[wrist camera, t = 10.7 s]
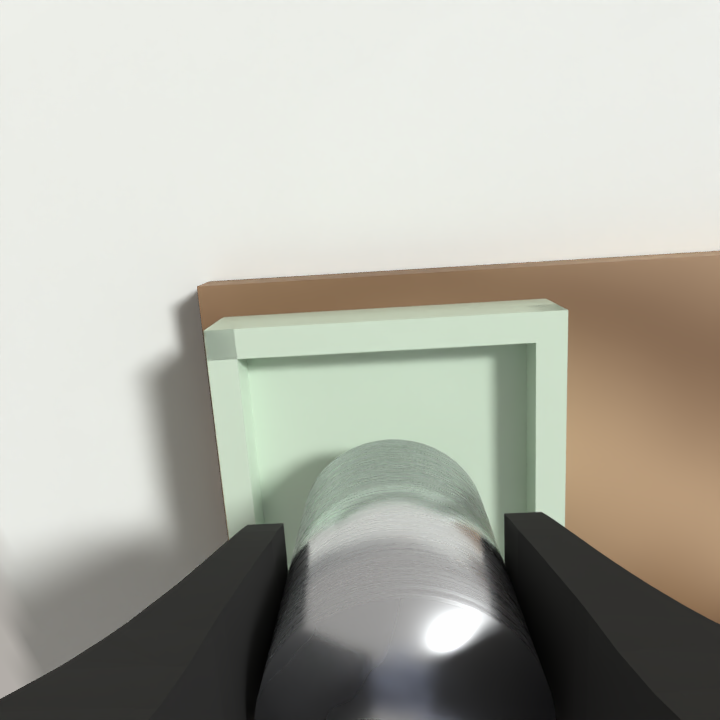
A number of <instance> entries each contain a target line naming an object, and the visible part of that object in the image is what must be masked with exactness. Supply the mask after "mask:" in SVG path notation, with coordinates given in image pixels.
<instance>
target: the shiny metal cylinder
mask: <svg viewBox="0 0 720 720" xmlns="http://www.w3.org/2000/svg"><path fill="white" fill-rule="evenodd" d="M254 720H556V716H555V707H554V703H553V699H552V695H551V691H550V688H549V686H548V683H547V680H546V677H545V674H544V672H543V669H542V666H541V663H540V661H539V658H538V655H537V652H536V650H535V647H534V644H533V641H532V638H531V636H530V633H529V630H528V627H527V625H526V622H525V619H524V616H523V614H522V611H521V608H520V605H519V602H518V600H517V597H516V594H515V591H514V589H513V586H512V583H511V580H510V578H509V575H508V572H507V569H506V566H505V564H504V561H503V558H502V555H501V553H500V550H499V547H498V544H497V542H496V539H495V536H494V533H493V530H492V528H491V525H490V522H489V519H488V517H487V514H486V511H485V508H484V506H483V503H482V500H481V497H480V495H479V492H478V490H477V488H476V486H475V484H474V483H473V481H472V479H471V478H470V476H469V475H468V474H467V473H466V471H465V470H464V469H463V468H462V467H461V466H460V465H459V464H458V463H457V462H456V461H454V460H453V459H452V458H450V457H449V456H448V455H446V454H444V453H443V452H441V451H439V450H437V449H435V448H433V447H430V446H428V445H425V444H422V443H418V442H414V441H408V440H398V439H388V440H379V441H373V442H369V443H365V444H362V445H360V446H357V447H354V448H352V449H350V450H348V451H347V452H345V453H343V454H341V455H340V456H339V457H337V458H336V459H334V460H333V461H332V462H331V463H330V464H329V465H328V466H327V467H326V468H324V470H323V471H322V472H321V473H320V475H319V476H318V477H317V479H316V480H315V482H314V484H313V485H312V487H311V489H310V492H309V494H308V496H307V499H306V503H305V507H304V511H303V515H302V519H301V523H300V527H299V531H298V535H297V539H296V544H295V548H294V552H293V556H292V560H291V564H290V568H289V572H288V576H287V580H286V584H285V588H284V592H283V596H282V600H281V604H280V608H279V612H278V617H277V621H276V625H275V629H274V633H273V637H272V641H271V645H270V649H269V653H268V657H267V661H266V665H265V669H264V673H263V677H262V681H261V685H260V690H259V694H258V698H257V702H256V708H255V718H254Z"/></svg>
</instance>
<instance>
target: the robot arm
mask: <svg viewBox="0 0 720 720" xmlns="http://www.w3.org/2000/svg"><path fill="white" fill-rule="evenodd" d="M504 558H505V566H506V569H507V572H508V575H509V578H510V580H511V583H512V586H513V589H514V591H515V594H516V597H517V600H518V602H519V605H520V608H521V611H522V614H523V616H524V619H525V622H526V625H527V627H528V630H529V633H530V636H531V638H532V641H533V644H534V647H535V650H536V652H537V655H538V658H539V661H540V663H541V666H542V669H543V672H544V674H545V677H546V680H547V683H548V686H549V688H550V691H551V695H552V699H553V703H554V707H555V716H556V720H720V624H718V623H716V622H714V621H712V620H710V619H708V618H706V617H705V616H703V615H701V614H699V613H697V612H695V611H694V610H692V609H690V608H688V607H686V606H685V605H683V604H681V603H679V602H678V601H676V600H674V599H673V598H671V597H669V596H668V595H666V594H664V593H663V592H661V591H659V590H658V589H656V588H654V587H653V586H651V585H649V584H648V583H646V582H644V581H643V580H641V579H640V578H638V577H637V576H635V575H633V574H632V573H630V572H629V571H627V570H626V569H624V568H623V567H621V566H620V565H618V564H617V563H615V562H614V561H612V560H611V559H609V558H608V557H606V556H605V555H603V554H602V553H601V552H599V551H598V550H596V549H595V548H593V547H592V546H591V545H589V544H588V543H586V542H585V541H583V540H582V539H581V538H579V537H578V536H576V535H575V534H574V533H572V532H571V531H569V530H568V529H567V528H565V527H564V526H562V525H561V524H560V523H558V522H557V521H555V520H554V519H552V518H551V517H549V516H548V515H546V514H544V513H543V512H527V513H504ZM287 576H288V563H287V553H286V543H285V534H284V524H283V523H275V524H252V525H246V526H245V527H244V528H242V529H241V530H240V531H239V532H237V533H236V534H235V535H234V536H233V537H232V538H230V539H229V540H228V541H227V542H226V543H225V544H224V545H222V546H221V547H220V548H219V549H218V550H217V551H216V552H214V553H213V554H212V555H211V556H210V557H209V558H208V559H206V560H205V561H204V562H203V563H202V564H201V565H199V566H198V567H197V568H196V569H195V570H194V571H192V572H191V573H190V574H189V575H188V576H187V577H185V578H184V579H183V580H182V581H181V582H179V583H178V584H177V585H176V586H174V587H173V588H172V589H171V590H169V591H168V592H167V593H165V594H164V595H163V596H162V597H160V598H159V599H158V600H156V601H155V602H154V603H152V604H151V605H150V606H149V607H147V608H146V609H145V610H143V611H142V612H141V613H139V614H138V615H137V616H136V617H134V618H133V619H132V620H130V621H129V622H128V623H126V624H125V625H123V626H122V627H120V628H119V629H118V630H116V631H115V632H113V633H112V634H110V635H109V636H107V637H106V638H104V639H103V640H101V641H100V642H98V643H97V644H95V645H94V646H92V647H90V648H89V649H87V650H86V651H84V652H82V653H81V654H79V655H78V656H76V657H75V658H73V659H71V660H70V661H68V662H67V663H65V664H63V665H62V666H60V667H58V668H56V669H55V670H53V671H51V672H49V673H47V674H46V675H44V676H42V677H40V678H38V679H36V680H35V681H33V682H31V683H29V684H27V685H25V686H24V687H22V688H20V689H18V690H16V691H14V692H12V693H11V694H9V695H7V696H5V697H3V698H1V699H0V720H254V718H255V708H256V702H257V698H258V694H259V690H260V685H261V681H262V677H263V673H264V669H265V665H266V661H267V657H268V653H269V649H270V645H271V641H272V637H273V633H274V629H275V625H276V621H277V617H278V612H279V608H280V604H281V600H282V596H283V592H284V588H285V584H286V580H287Z"/></svg>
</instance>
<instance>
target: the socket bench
mask: <svg viewBox="0 0 720 720" xmlns="http://www.w3.org/2000/svg"><path fill="white" fill-rule="evenodd" d="M197 291H198V299H199V307H200V315H201V323H202V331H204V330H205V329H207V328H208V327H210V326H211V325H213V324H214V323H216V322H217V321H218V320H220V319H221V318H223V317H235V316H252V315H269V314H287V313H304V312H321V311H339V310H356V309H373V308H391V307H408V306H425V305H443V304H460V303H477V302H495V301H512V300H529V299H548V300H550V301H552V302H554V303H556V304H557V305H559V306H561V307H563V308H565V309H567V310H568V358H567V421H566V484H565V528H567V529H568V530H569V531H571V532H572V533H574V534H575V535H576V536H578V537H579V538H581V539H582V540H583V541H585V542H586V543H588V544H589V545H591V546H592V547H593V548H595V549H596V550H598V551H599V552H601V553H602V554H603V555H605V556H606V557H608V558H609V559H611V560H612V561H614V562H615V563H617V564H618V565H620V566H621V567H623V568H624V569H626V570H627V571H629V572H630V573H632V574H633V575H635V576H637V577H638V578H640V579H641V580H643V581H644V582H646V583H648V584H649V585H651V586H653V587H654V588H656V589H658V590H659V591H661V592H663V593H664V594H666V595H668V596H669V597H671V598H673V599H674V600H676V601H678V602H679V603H681V604H683V605H685V606H686V607H688V608H690V609H692V610H694V611H695V612H697V613H699V614H701V615H703V616H705V617H706V618H708V619H710V620H712V621H714V622H716V623H718V624H720V251H709V252H692V253H676V254H659V255H642V256H626V257H609V258H593V259H576V260H559V261H543V262H526V263H509V264H493V265H476V266H460V267H443V268H426V269H410V270H393V271H377V272H360V273H343V274H327V275H310V276H294V277H277V278H260V279H244V280H227V281H210V282H207V283H205V284H202V285H200V286H197ZM203 340H204V332H203ZM204 348H205V341H204ZM205 356H206V349H205ZM206 364H207V357H206ZM207 372H208V365H207ZM208 380H209V373H208ZM209 388H210V381H209ZM210 396H211V389H210ZM211 404H212V397H211ZM212 412H213V405H212ZM213 420H214V414H213ZM214 428H215V422H214ZM215 437H216V430H215ZM216 445H217V438H216ZM217 453H218V446H217ZM218 461H219V454H218ZM219 469H220V462H219ZM220 477H221V470H220ZM221 485H222V478H221ZM222 493H223V486H222ZM223 501H224V495H223ZM224 509H225V503H224ZM225 517H226V511H225ZM226 526H227V519H226ZM227 534H228V527H227ZM228 540H229V535H228Z"/></svg>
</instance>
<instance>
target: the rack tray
mask: <svg viewBox="0 0 720 720" xmlns="http://www.w3.org/2000/svg"><path fill="white" fill-rule="evenodd" d="M203 332H204V341H205V349H206V357H207V365H208V373H209V381H210V389H211V397H212V405H213V414H214V422H215V430H216V438H217V446H218V454H219V462H220V470H221V478H222V486H223V495H224V503H225V511H226V519H227V527H228V535H229V539H230V538H232V537H233V536H234V535H235V534H236V533H237V532H239V531H240V530H241V529H242V528H244V527H245V526H246V525H252V524H275V523H283V524H284V534H285V543H286V553H287V563H288V572H289V568H290V564H291V560H292V556H293V552H294V548H295V544H296V539H297V535H298V531H299V527H300V523H301V519H302V515H303V511H304V507H305V503H306V499H307V496H308V494H309V492H310V489H311V487H312V485H313V484H314V482H315V480H316V479H317V477H318V476H319V475H320V473H321V472H322V471H323V470H324V468H326V467H327V466H328V465H329V464H330V463H331V462H332V461H333V460H334V459H336V458H337V457H339V456H340V455H341V454H343V453H345V452H347V451H348V450H350V449H352V448H354V447H357V446H360V445H362V444H365V443H369V442H373V441H379V440H388V439H398V440H408V441H414V442H418V443H422V444H425V445H428V446H430V447H433V448H435V449H437V450H439V451H441V452H443V453H444V454H446V455H448V456H449V457H450V458H452V459H453V460H454V461H456V462H457V463H458V464H459V465H460V466H461V467H462V468H463V469H464V470H465V471H466V473H467V474H468V475H469V476H470V478H471V479H472V481H473V483H474V484H475V486H476V488H477V490H478V492H479V495H480V497H481V500H482V503H483V506H484V508H485V511H486V514H487V517H488V519H489V522H490V525H491V528H492V530H493V533H494V536H495V539H496V542H497V544H498V547H499V550H500V553H501V555H502V558H503V561H504V564H505V558H504V513H527V512H543V513H544V514H546V515H548V516H549V517H551V518H552V519H554V520H555V521H557V522H558V523H560V524H561V525H562V526H564V527H565V484H566V421H567V358H568V310H567V309H565V308H563V307H561V306H559V305H557V304H556V303H554V302H552V301H550V300H548V299H529V300H512V301H495V302H477V303H460V304H443V305H425V306H408V307H391V308H373V309H356V310H339V311H321V312H304V313H287V314H269V315H252V316H235V317H223V318H221V319H220V320H218V321H217V322H216V323H214V324H213V325H211V326H210V327H208V328H207V329H205V330H204V331H203Z"/></svg>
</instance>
